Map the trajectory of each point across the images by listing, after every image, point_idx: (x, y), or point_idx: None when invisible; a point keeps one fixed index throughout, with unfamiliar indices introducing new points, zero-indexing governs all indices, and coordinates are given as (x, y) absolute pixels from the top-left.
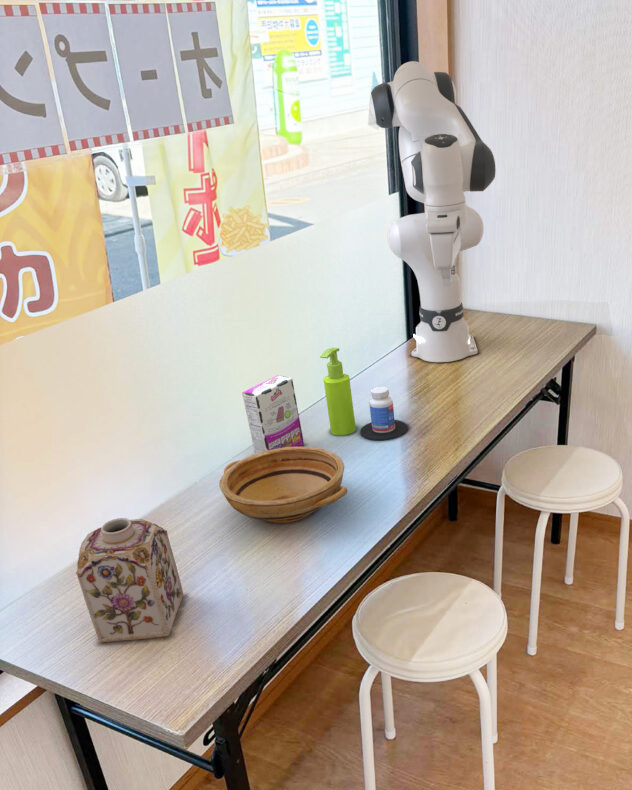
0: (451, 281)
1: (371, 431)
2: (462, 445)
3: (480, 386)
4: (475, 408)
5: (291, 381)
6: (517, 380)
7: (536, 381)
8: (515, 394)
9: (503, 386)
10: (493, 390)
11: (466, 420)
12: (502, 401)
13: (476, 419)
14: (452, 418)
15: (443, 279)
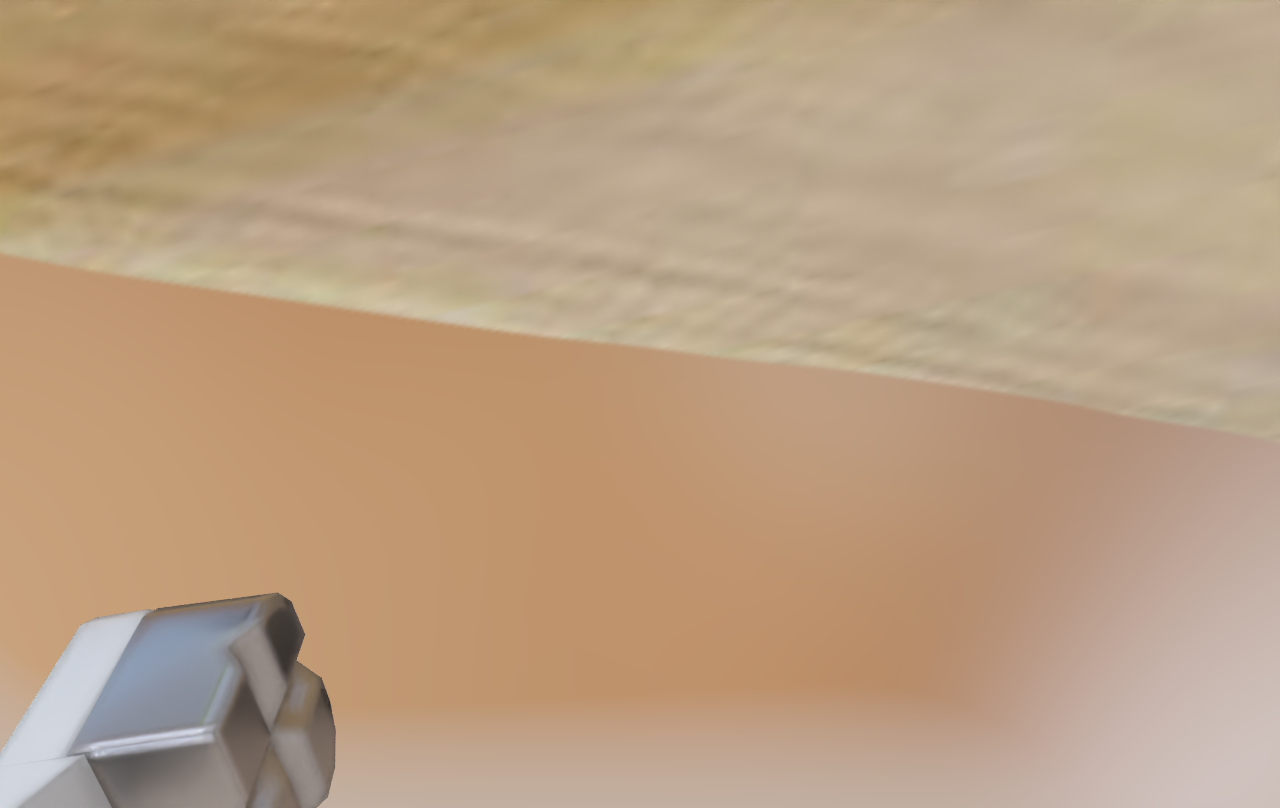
0: (313, 797)
1: None
2: (36, 197)
3: (1065, 54)
4: (640, 126)
5: None
6: (1158, 294)
7: (1125, 413)
8: (901, 333)
9: (1052, 225)
10: (979, 172)
11: (424, 117)
12: (778, 278)
13: (454, 181)
14: (437, 3)
15: (18, 760)
